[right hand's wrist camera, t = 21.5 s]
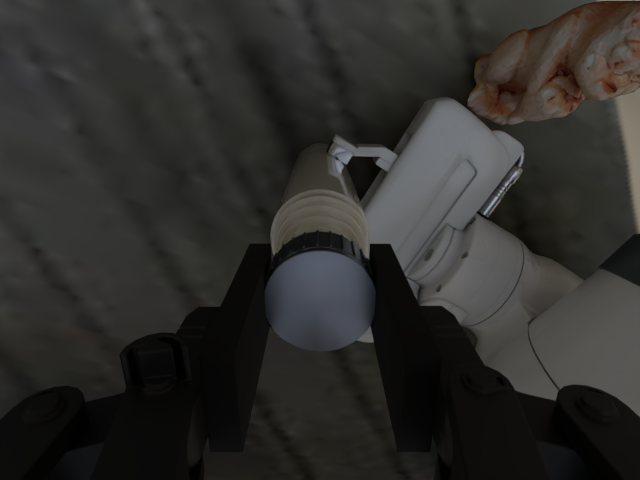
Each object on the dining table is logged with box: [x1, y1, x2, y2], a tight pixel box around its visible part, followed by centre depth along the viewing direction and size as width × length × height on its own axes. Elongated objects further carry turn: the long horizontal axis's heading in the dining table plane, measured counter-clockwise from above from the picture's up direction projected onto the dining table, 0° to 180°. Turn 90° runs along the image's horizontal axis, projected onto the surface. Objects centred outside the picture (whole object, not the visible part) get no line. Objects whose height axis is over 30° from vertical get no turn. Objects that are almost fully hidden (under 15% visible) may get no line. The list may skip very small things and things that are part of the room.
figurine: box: [468, 1, 640, 125], centre depth 26 cm, size 6×8×15 cm
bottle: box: [271, 143, 370, 256], centre depth 25 cm, size 5×5×24 cm
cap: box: [264, 230, 376, 352], centre depth 14 cm, size 4×4×2 cm
